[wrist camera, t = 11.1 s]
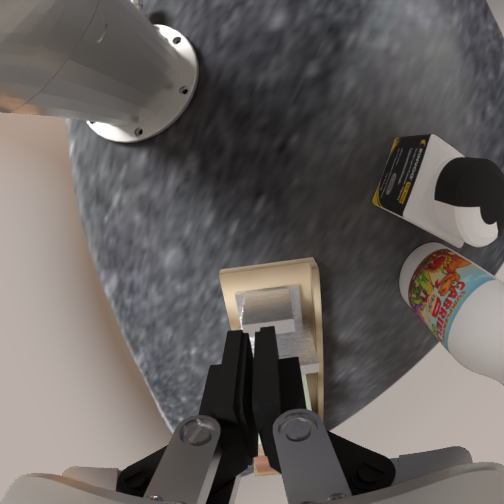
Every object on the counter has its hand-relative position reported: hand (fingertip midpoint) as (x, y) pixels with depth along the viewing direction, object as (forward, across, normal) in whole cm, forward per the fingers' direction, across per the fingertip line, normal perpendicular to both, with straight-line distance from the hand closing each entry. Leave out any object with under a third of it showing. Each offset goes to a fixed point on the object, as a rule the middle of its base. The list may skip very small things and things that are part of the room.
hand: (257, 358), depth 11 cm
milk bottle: (+17, -18, +6) cm, 26 cm away
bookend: (+16, 0, +7) cm, 17 cm away
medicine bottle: (+17, -16, -4) cm, 24 cm away
